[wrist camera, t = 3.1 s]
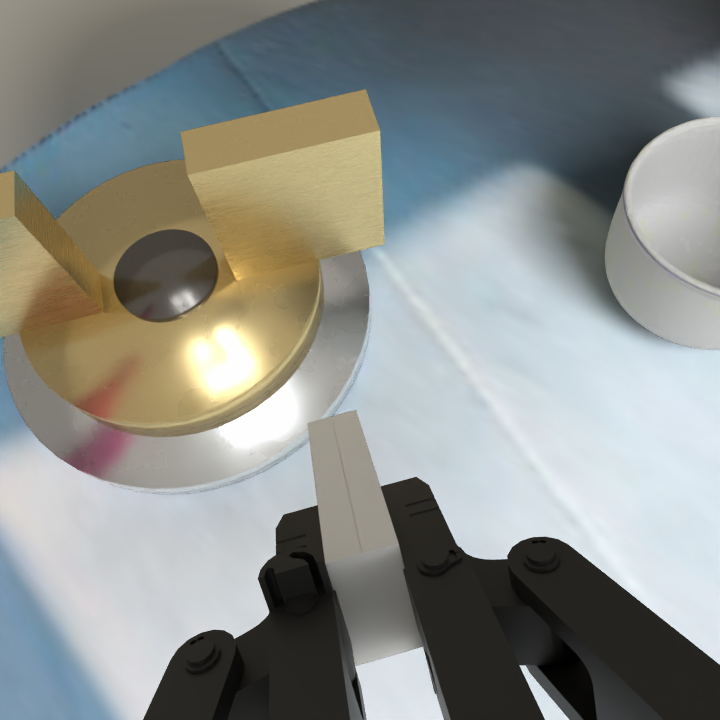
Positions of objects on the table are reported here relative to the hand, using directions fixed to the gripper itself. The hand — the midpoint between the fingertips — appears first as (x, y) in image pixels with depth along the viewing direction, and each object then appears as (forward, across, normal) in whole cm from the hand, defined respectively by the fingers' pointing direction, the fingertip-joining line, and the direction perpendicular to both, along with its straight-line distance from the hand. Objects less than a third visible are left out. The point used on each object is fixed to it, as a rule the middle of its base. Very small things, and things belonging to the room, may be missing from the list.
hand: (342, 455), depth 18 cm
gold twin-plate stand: (+18, -7, +2) cm, 20 cm away
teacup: (+16, +22, -3) cm, 28 cm away
